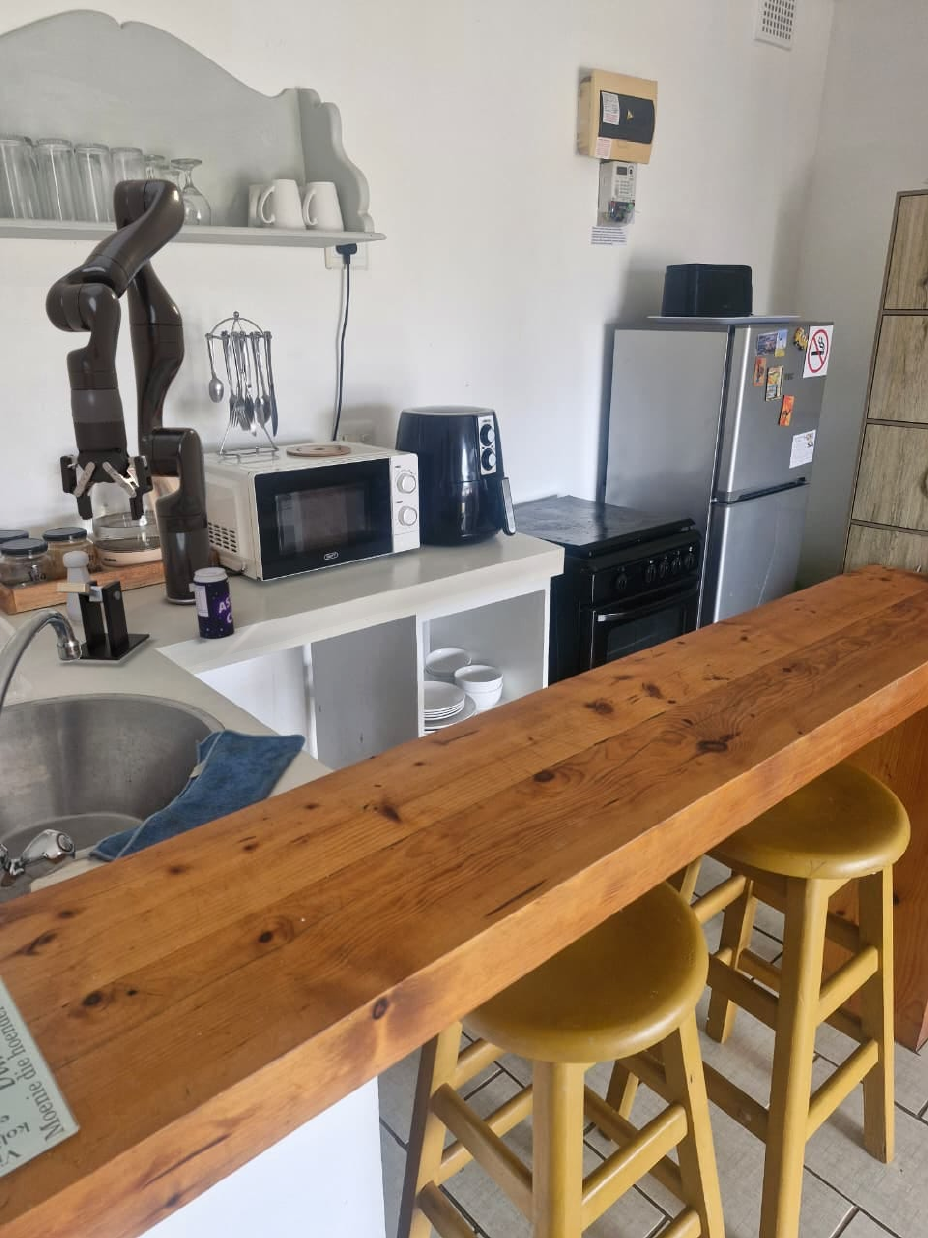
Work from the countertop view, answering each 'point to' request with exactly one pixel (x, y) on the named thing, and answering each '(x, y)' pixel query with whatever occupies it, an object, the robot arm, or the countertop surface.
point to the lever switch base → (117, 637)
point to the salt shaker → (76, 580)
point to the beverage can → (213, 603)
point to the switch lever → (82, 590)
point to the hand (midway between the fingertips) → (112, 519)
